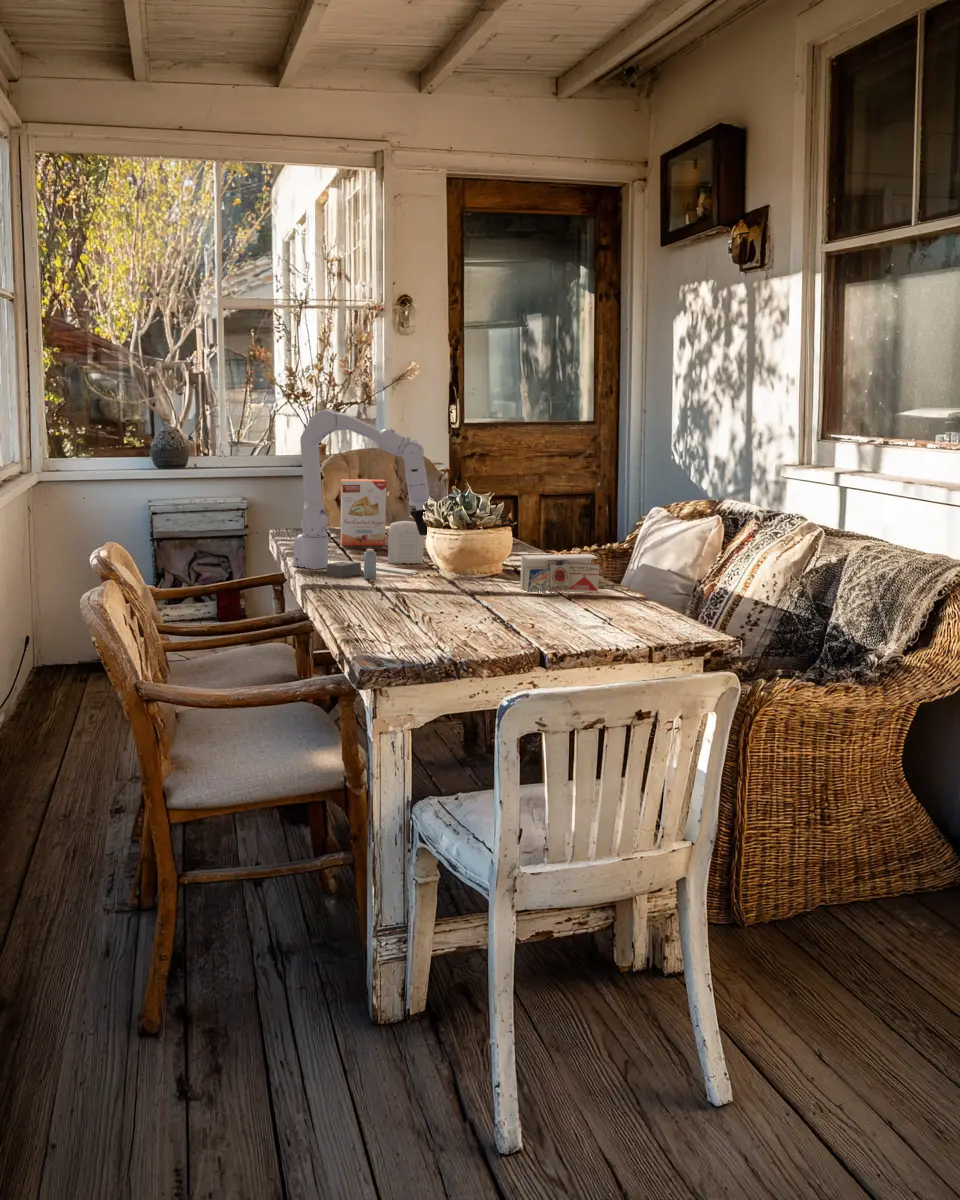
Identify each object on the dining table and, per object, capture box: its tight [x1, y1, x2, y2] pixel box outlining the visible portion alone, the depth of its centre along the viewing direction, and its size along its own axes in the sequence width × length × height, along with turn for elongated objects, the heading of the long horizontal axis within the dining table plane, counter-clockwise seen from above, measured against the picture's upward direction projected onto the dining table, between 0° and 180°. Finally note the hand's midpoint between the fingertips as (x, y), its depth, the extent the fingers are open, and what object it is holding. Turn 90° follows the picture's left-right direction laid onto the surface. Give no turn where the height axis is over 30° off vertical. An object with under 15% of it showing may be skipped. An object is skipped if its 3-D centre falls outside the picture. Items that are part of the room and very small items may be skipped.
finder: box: [326, 560, 362, 579], centre depth 319 cm, size 5×8×4 cm, turn 144°
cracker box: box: [340, 478, 387, 547], centre depth 374 cm, size 14×6×21 cm, turn 102°
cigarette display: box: [519, 553, 600, 593], centre depth 301 cm, size 20×6×9 cm, turn 106°
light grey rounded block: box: [387, 520, 425, 565], centre depth 340 cm, size 10×4×12 cm, turn 98°
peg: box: [363, 548, 377, 580], centre depth 315 cm, size 3×3×8 cm
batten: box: [376, 564, 420, 575], centre depth 327 cm, size 16×4×1 cm, turn 53°
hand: (424, 533), depth 328 cm, fingers open, 7 cm apart
